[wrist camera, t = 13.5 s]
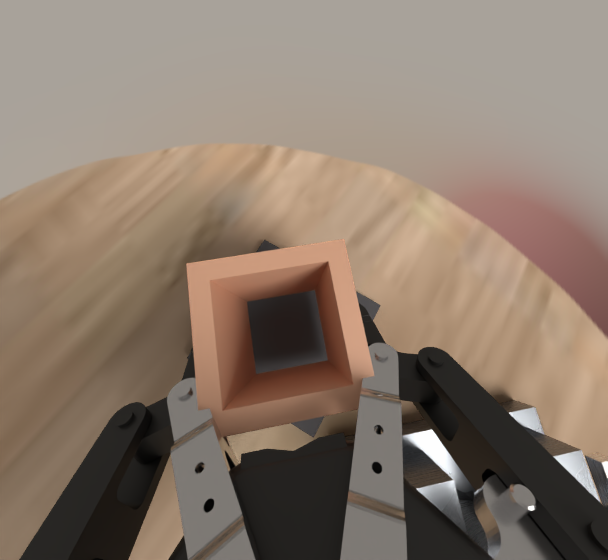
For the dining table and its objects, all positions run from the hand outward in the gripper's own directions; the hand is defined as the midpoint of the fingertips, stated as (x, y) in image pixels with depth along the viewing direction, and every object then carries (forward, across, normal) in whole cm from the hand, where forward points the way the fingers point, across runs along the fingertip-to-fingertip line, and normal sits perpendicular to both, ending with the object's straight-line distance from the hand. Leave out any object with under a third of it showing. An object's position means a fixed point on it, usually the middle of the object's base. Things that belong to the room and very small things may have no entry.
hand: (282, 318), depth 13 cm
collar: (+1, 0, +2) cm, 3 cm away
